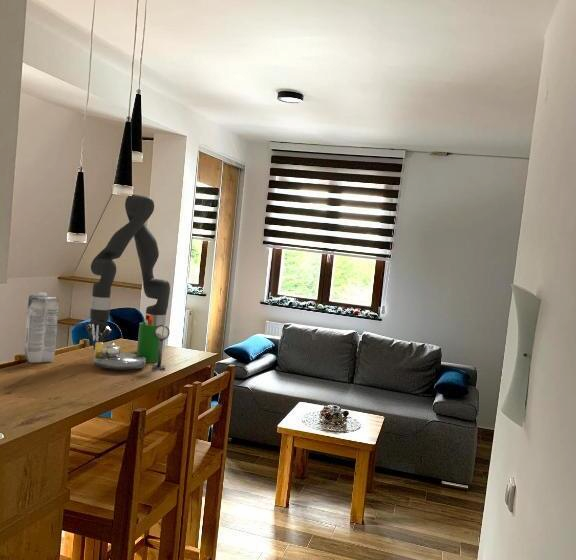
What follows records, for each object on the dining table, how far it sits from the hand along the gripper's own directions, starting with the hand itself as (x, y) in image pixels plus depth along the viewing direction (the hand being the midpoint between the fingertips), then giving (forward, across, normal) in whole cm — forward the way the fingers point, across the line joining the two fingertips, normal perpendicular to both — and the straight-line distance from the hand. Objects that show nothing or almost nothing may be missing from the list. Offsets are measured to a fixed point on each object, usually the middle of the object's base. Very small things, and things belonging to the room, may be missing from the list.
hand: (96, 349), depth 255 cm
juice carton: (+5, +14, +16) cm, 22 cm away
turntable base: (+5, -12, 0) cm, 13 cm away
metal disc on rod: (+5, -23, -11) cm, 26 cm away
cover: (+1, -7, 0) cm, 7 cm away
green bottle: (+5, -10, -20) cm, 23 cm away
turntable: (+3, -12, 0) cm, 13 cm away
